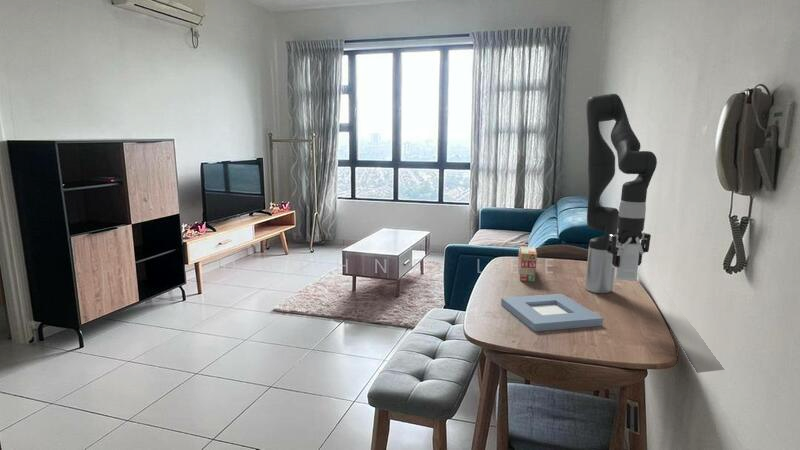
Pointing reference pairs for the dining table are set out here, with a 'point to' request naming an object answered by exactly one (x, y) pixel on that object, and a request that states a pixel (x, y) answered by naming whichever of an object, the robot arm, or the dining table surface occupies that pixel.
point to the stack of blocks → (527, 263)
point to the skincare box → (628, 263)
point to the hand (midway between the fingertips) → (626, 265)
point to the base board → (550, 312)
